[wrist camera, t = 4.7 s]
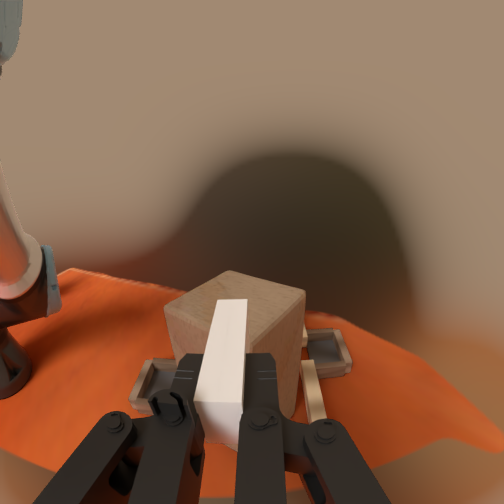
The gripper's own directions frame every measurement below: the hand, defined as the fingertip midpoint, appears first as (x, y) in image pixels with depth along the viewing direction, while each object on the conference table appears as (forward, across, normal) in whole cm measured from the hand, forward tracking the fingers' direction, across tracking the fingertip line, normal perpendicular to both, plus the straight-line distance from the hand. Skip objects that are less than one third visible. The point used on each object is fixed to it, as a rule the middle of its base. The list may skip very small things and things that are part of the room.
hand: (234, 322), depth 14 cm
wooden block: (+11, -1, -25) cm, 27 cm away
